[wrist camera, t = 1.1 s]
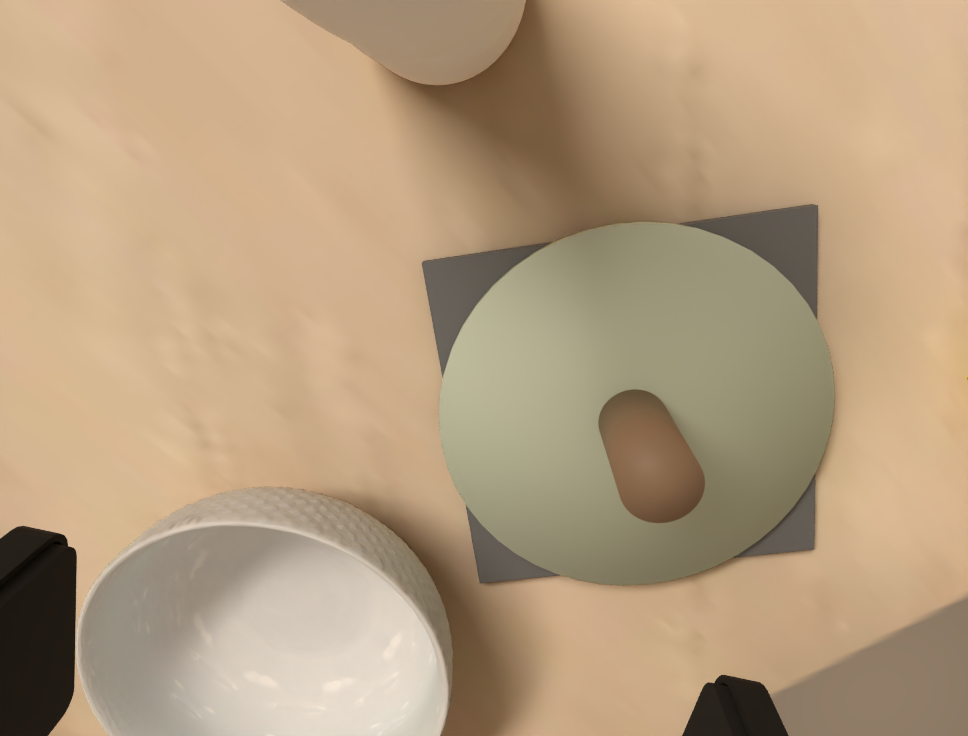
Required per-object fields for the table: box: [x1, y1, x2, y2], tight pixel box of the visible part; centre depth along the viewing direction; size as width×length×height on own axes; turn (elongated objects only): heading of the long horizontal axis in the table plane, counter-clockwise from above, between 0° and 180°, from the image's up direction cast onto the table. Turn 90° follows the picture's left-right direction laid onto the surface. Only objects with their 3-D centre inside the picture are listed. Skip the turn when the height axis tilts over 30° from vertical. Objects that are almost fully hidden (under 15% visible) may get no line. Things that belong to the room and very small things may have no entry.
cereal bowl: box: [76, 486, 453, 736], centre depth 32 cm, size 17×17×7 cm
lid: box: [439, 221, 835, 586], centre depth 28 cm, size 18×18×7 cm
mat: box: [422, 204, 818, 583], centre depth 31 cm, size 17×17×1 cm
